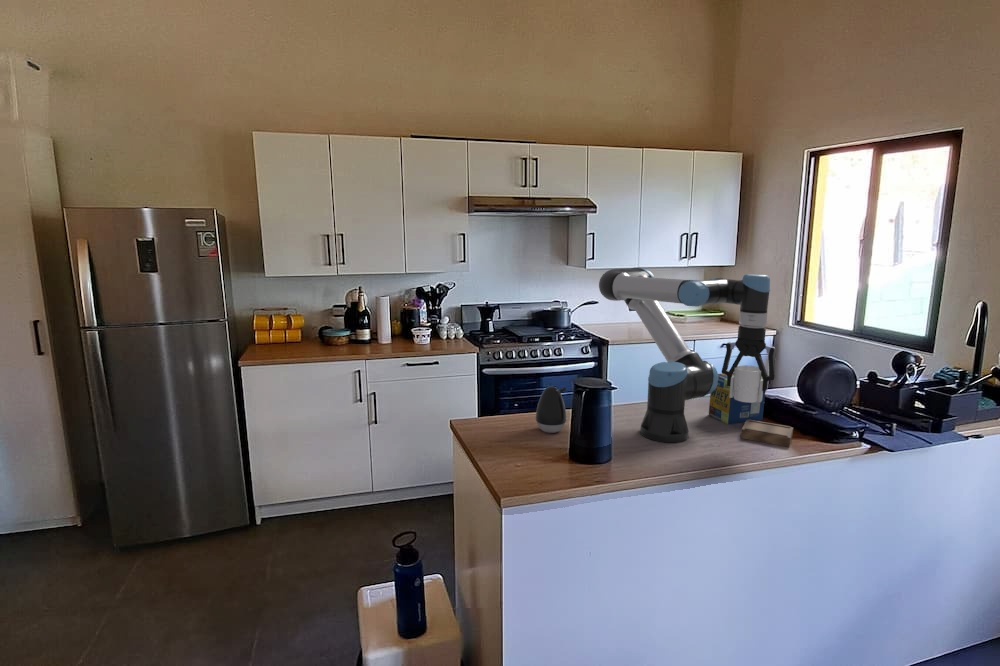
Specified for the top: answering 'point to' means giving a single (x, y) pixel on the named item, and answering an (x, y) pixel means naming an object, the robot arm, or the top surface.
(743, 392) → the white cup
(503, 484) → the top surface
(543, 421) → the dark grey egg
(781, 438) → the tan flat block
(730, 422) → the protein box
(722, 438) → the top surface
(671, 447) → the top surface
